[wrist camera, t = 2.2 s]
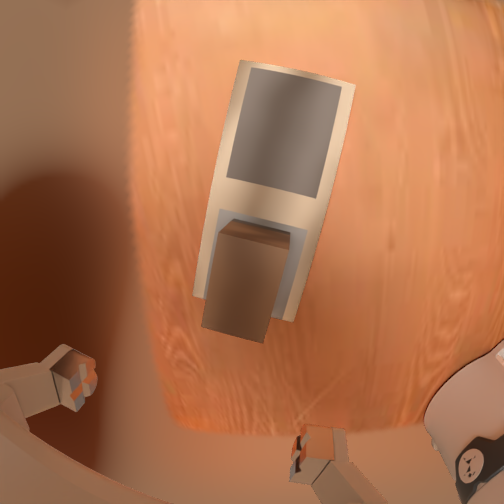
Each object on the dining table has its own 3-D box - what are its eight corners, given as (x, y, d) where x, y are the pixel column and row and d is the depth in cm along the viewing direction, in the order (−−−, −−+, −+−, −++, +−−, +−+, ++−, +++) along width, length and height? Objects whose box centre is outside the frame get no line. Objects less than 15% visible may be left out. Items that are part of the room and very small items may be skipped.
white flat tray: (352, 89, 21) (355, 84, 20) (293, 314, 27) (293, 322, 26) (243, 65, 22) (240, 59, 20) (197, 289, 28) (192, 295, 26)
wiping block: (290, 232, 23) (289, 250, 19) (269, 311, 26) (263, 343, 21) (233, 218, 24) (218, 232, 19) (217, 297, 26) (201, 326, 21)
